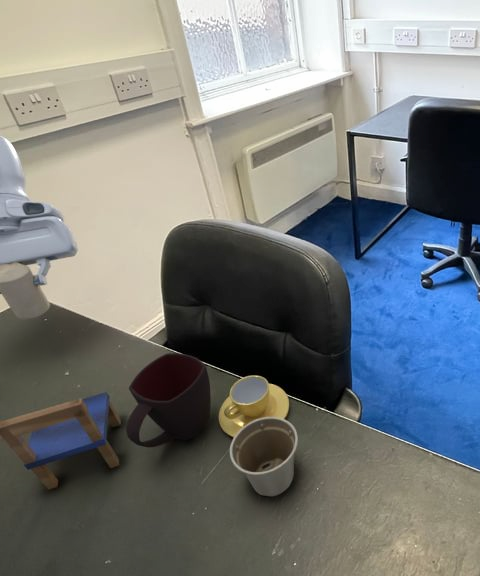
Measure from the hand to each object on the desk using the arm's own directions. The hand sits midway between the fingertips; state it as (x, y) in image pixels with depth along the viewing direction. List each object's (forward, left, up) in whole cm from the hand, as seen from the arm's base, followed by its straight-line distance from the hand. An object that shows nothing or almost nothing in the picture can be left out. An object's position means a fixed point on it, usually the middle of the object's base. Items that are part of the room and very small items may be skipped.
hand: (19, 289), depth 80 cm
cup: (+42, -18, -16) cm, 49 cm away
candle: (0, +1, -6) cm, 6 cm away
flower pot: (+47, -31, -17) cm, 59 cm away
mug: (+30, -22, -17) cm, 41 cm away
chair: (+16, -24, -17) cm, 33 cm away
